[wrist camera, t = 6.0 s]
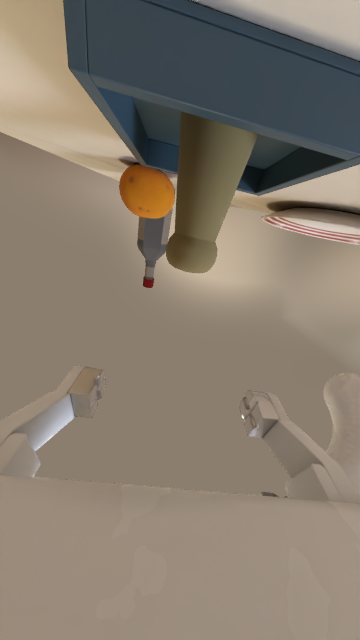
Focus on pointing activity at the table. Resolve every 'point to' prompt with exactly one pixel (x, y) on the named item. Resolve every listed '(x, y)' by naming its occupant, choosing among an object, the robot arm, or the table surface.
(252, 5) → the table surface
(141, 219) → the liquor
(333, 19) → the table surface
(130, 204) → the fruit
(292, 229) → the dinner plate
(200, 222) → the cork
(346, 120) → the bin
